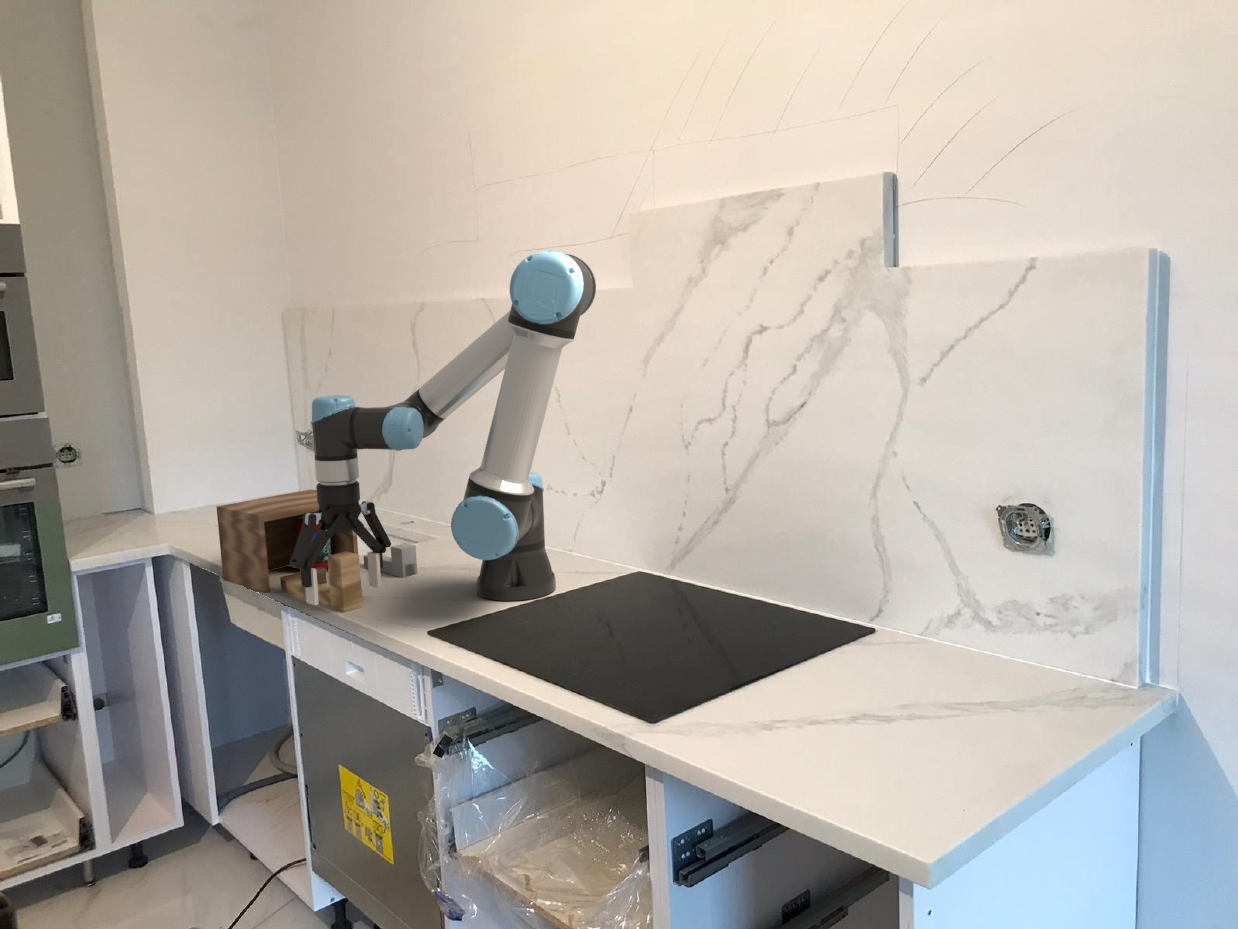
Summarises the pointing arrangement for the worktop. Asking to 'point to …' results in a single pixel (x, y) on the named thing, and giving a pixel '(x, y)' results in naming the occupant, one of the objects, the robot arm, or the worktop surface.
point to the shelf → (267, 536)
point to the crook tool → (332, 583)
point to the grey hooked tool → (399, 561)
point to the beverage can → (323, 557)
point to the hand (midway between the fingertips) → (344, 595)
